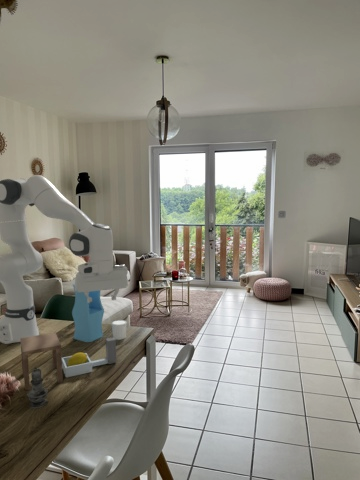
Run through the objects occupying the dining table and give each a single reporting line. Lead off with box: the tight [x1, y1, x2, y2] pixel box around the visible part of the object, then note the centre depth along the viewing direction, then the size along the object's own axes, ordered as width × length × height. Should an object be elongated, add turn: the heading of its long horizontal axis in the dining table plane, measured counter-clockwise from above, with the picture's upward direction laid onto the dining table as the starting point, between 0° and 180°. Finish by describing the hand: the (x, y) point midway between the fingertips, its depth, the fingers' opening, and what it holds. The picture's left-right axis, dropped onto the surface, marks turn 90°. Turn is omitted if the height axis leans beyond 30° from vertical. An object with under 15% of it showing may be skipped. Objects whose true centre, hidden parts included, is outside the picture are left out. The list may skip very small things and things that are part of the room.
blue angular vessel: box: [71, 282, 105, 343], centre depth 164 cm, size 10×10×25 cm
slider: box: [62, 336, 117, 378], centre depth 136 cm, size 19×9×9 cm, turn 116°
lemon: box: [67, 352, 88, 367], centre depth 133 cm, size 6×6×8 cm
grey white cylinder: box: [110, 319, 128, 341], centre depth 165 cm, size 7×7×7 cm
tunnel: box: [20, 332, 64, 391], centre depth 128 cm, size 12×13×13 cm
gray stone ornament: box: [26, 366, 49, 409], centre depth 112 cm, size 6×6×12 cm
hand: (101, 301), depth 142 cm, fingers open, 8 cm apart
